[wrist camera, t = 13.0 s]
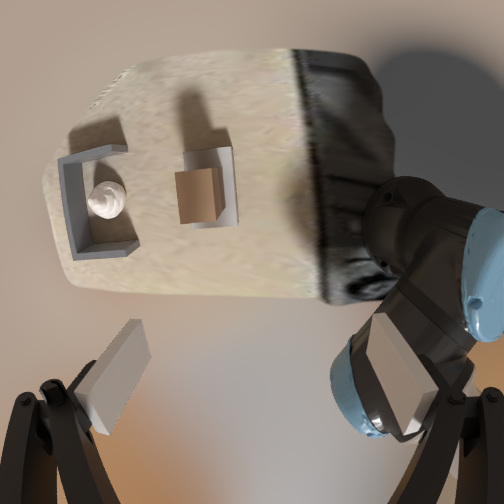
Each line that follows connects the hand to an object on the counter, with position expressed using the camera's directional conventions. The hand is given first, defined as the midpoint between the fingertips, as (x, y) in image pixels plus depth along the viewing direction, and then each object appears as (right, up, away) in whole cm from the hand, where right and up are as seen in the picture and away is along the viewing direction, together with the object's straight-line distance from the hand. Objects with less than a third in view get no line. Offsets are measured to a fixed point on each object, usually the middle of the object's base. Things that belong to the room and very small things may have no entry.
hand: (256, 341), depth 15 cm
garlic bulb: (-21, +13, +23) cm, 34 cm away
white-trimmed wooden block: (-5, +14, +22) cm, 27 cm away
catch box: (-22, +13, +23) cm, 34 cm away
